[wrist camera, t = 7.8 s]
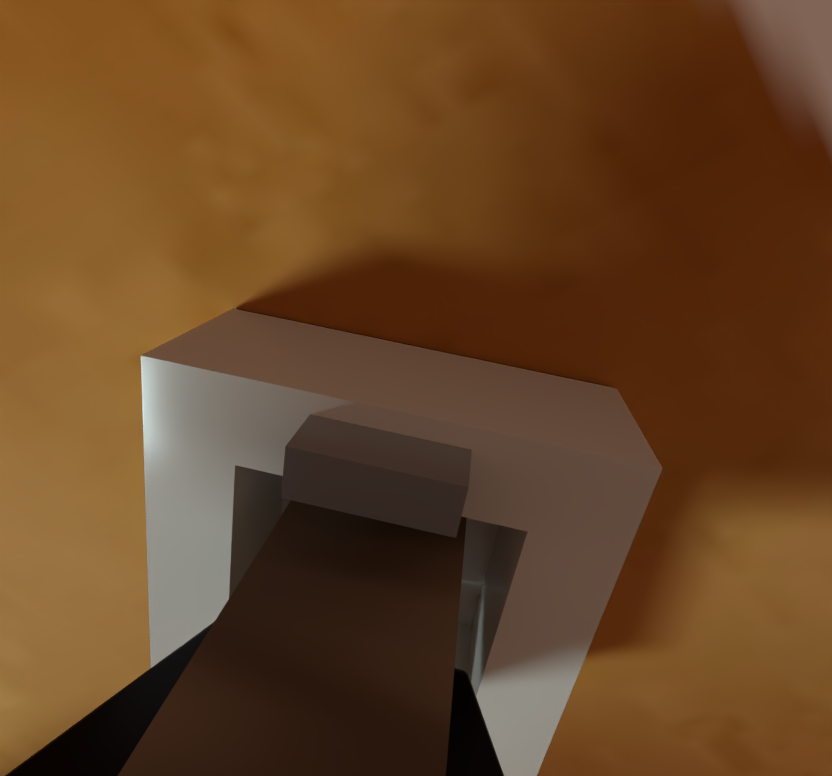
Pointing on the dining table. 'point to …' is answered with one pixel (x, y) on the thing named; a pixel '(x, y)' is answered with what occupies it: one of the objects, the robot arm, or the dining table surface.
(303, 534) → the dark brown wooden beam
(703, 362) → the dining table surface
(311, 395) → the white square frame
